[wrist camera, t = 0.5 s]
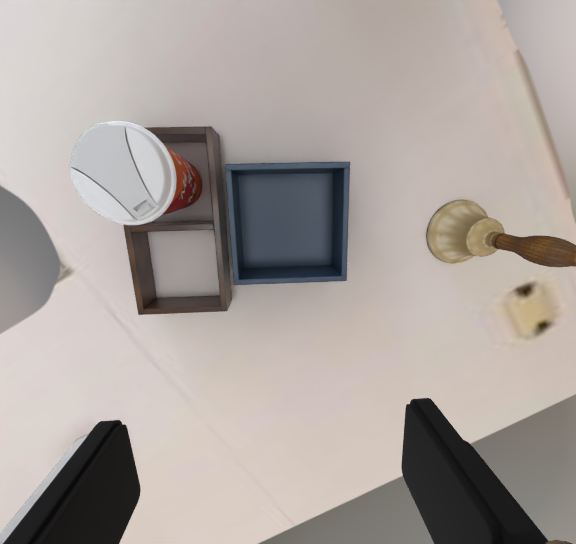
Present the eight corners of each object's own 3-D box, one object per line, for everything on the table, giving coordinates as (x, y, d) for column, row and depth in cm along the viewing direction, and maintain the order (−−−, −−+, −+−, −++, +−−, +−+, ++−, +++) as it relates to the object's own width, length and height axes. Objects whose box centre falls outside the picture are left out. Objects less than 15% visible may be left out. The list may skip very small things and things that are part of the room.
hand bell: (494, 247, 38) (643, 280, 23) (436, 272, 39) (544, 321, 23) (479, 189, 36) (632, 181, 21) (418, 216, 37) (523, 229, 21)
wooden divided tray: (126, 136, 33) (106, 128, 29) (219, 134, 33) (211, 126, 29) (152, 303, 38) (138, 314, 34) (231, 300, 38) (227, 311, 34)
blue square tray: (233, 170, 34) (224, 164, 28) (337, 167, 35) (350, 161, 29) (240, 271, 37) (233, 285, 32) (335, 268, 38) (346, 280, 32)
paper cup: (223, 194, 35) (191, 191, 21) (172, 227, 36) (110, 245, 22) (184, 135, 33) (122, 90, 19) (132, 171, 34) (36, 153, 20)
